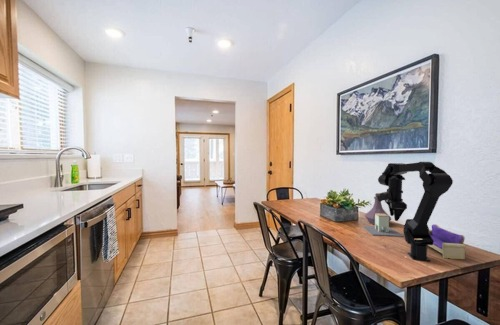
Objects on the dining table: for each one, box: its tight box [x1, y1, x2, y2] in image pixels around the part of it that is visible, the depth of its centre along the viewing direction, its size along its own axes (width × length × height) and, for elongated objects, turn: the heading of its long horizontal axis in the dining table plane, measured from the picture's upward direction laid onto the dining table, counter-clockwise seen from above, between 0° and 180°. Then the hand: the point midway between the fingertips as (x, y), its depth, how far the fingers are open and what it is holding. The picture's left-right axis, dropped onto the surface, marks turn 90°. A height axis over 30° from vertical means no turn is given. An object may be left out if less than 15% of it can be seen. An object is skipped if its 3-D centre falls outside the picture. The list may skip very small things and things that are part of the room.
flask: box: [364, 192, 392, 225], centre depth 150 cm, size 16×16×20 cm
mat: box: [362, 225, 405, 238], centre depth 132 cm, size 16×16×1 cm
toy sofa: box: [416, 224, 467, 260], centre depth 106 cm, size 21×9×10 cm, turn 172°
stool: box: [374, 213, 390, 232], centre depth 132 cm, size 5×5×10 cm
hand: (393, 218), depth 114 cm, fingers open, 9 cm apart
